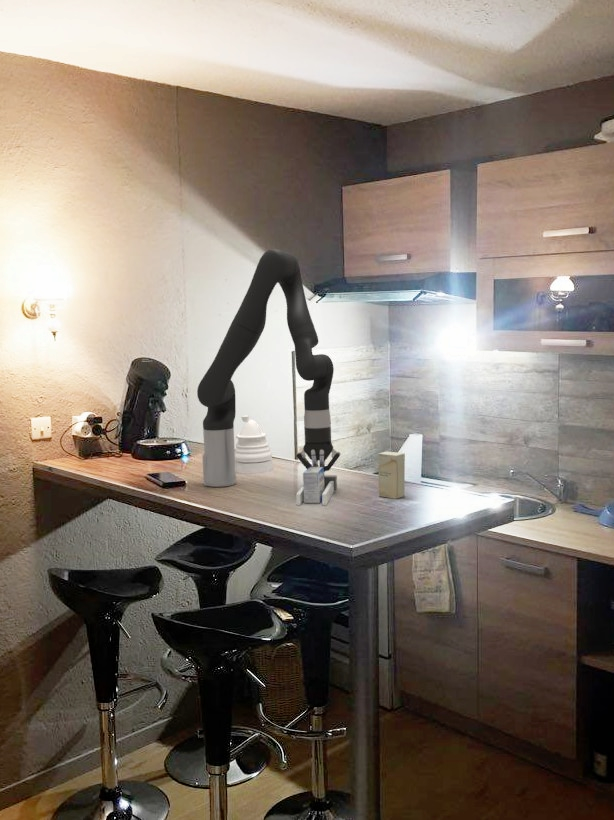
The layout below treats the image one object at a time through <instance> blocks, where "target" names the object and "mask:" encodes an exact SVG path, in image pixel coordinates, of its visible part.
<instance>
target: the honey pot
mask: <svg viewBox="0 0 614 820" xmlns="http://www.w3.org/2000/svg"><path fill="white" fill-rule="evenodd" d="M241 421H242V422H244V423H245V424H244V426H243V427H242V429H241V432H240V433H238V434H236V435H235V436H236V437H235V438H236V439H237V440H238V441H237V443H236V444H235V469H236V474H237V473H238V474H243V475H244V474H249V475H250V474H262V473H263V474H264V473H268V472H271V471H272V470H273V467H274V466H273V453H272V451H271V448H270V446H269V443H268V440H267V438H266V437H267V434H266V433H264V432H263V430H262V428H261V426H260V425H259V424H258V422H256V421H255V420H254V419H250V416H249V415H241Z"/></svg>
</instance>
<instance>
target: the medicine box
mask: <svg viewBox="0 0 614 820" xmlns="http://www.w3.org/2000/svg"><path fill="white" fill-rule="evenodd" d="M324 475H325V472H324V468H323V467H320V466H319V467H309V468H308V469H306V470H305V471H304V472H302V480H303V481H302V482H303V483H302V484H303V485H302V486H304V501H303V502H304V504H320V503H321V502H322V494H323V492H324V490H325V487H324Z"/></svg>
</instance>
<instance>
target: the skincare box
mask: <svg viewBox="0 0 614 820" xmlns="http://www.w3.org/2000/svg"><path fill="white" fill-rule="evenodd" d="M405 456H406V454H405V453H403V452H396V451H383V452H379V453H378V497H383V498H389V499H394V500H395V499H397V500H398V499H400V498H403V497H405V492H406V491H405V487H406V486H405V483H406V482H405V481H406V480H405V475H406V474H405V472H406V470H405V469H406V468H405V467H406V466H405V464H406V463H405V462H406V461H405V458H406V457H405Z"/></svg>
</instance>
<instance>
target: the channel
mask: <svg viewBox="0 0 614 820" xmlns="http://www.w3.org/2000/svg"><path fill="white" fill-rule="evenodd" d="M324 478H325V481H324V487H325V490H324V492H323V494H322V501H321V502H322V506H327V504H328V502H329V501H330V499H331V498H332V495H333V494H334V492H336V491H337V490H338V476H337V475H336V474H335V475H334V474H332V475H330V474H329V475H327V474H324ZM303 502H304V486H303V485H302V486H301V488H300V489H299V490H298V491H297V493H296V506H301V505H302V503H303Z"/></svg>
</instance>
